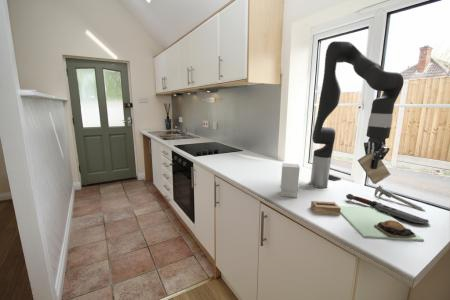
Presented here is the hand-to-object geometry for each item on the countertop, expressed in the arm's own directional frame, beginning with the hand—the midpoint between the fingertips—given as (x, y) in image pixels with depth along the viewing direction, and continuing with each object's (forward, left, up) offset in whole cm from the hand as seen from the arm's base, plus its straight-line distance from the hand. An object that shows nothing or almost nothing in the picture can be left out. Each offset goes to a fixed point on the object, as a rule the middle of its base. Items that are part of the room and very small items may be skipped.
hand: (371, 168), depth 90 cm
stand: (-1, -16, -20) cm, 26 cm away
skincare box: (-17, -28, -20) cm, 39 cm away
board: (0, +5, -4) cm, 6 cm away
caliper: (-15, +24, -21) cm, 35 cm away
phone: (-52, +5, -21) cm, 56 cm away
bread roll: (+14, +3, -20) cm, 24 cm away
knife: (-5, +11, -20) cm, 23 cm away
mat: (+6, 0, -20) cm, 21 cm away
